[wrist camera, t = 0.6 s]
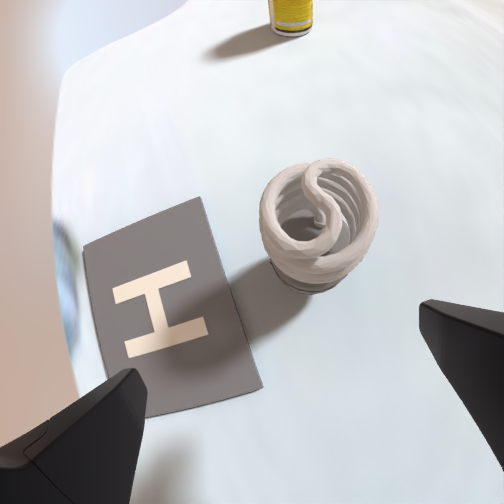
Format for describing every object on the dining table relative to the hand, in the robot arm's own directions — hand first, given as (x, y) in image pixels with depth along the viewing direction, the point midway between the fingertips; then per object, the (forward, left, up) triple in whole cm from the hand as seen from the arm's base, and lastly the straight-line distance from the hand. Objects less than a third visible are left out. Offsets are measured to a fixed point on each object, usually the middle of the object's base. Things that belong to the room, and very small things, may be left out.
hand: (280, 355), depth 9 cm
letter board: (-1, +10, -14) cm, 18 cm away
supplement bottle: (+36, +10, -14) cm, 40 cm away
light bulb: (+6, 0, -14) cm, 16 cm away
